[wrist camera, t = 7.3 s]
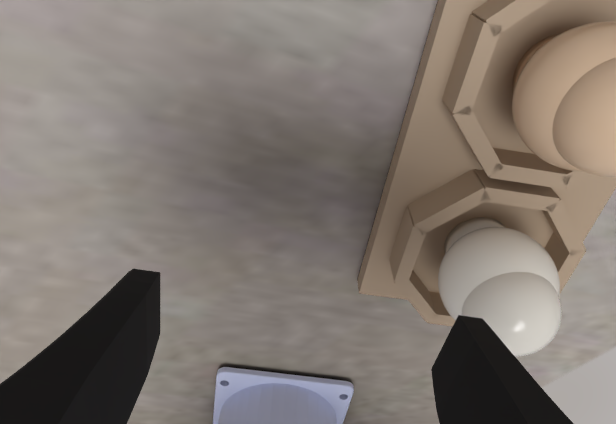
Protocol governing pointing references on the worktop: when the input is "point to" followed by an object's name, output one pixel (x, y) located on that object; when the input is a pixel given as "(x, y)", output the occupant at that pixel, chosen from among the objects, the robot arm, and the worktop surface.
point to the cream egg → (501, 283)
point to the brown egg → (570, 99)
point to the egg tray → (476, 152)
